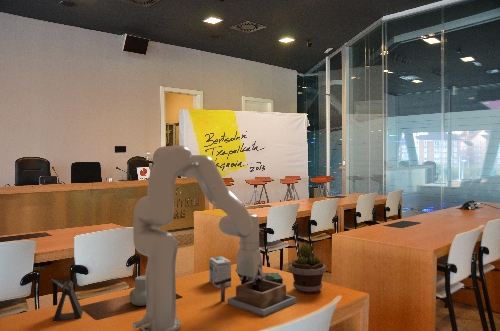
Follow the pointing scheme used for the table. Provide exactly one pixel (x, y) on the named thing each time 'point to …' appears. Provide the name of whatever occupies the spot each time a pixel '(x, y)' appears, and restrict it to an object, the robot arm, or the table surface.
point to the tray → (259, 311)
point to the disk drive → (270, 277)
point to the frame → (261, 294)
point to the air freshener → (139, 291)
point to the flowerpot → (307, 271)
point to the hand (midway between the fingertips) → (250, 292)
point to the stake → (222, 286)
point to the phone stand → (74, 302)
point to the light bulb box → (219, 270)
